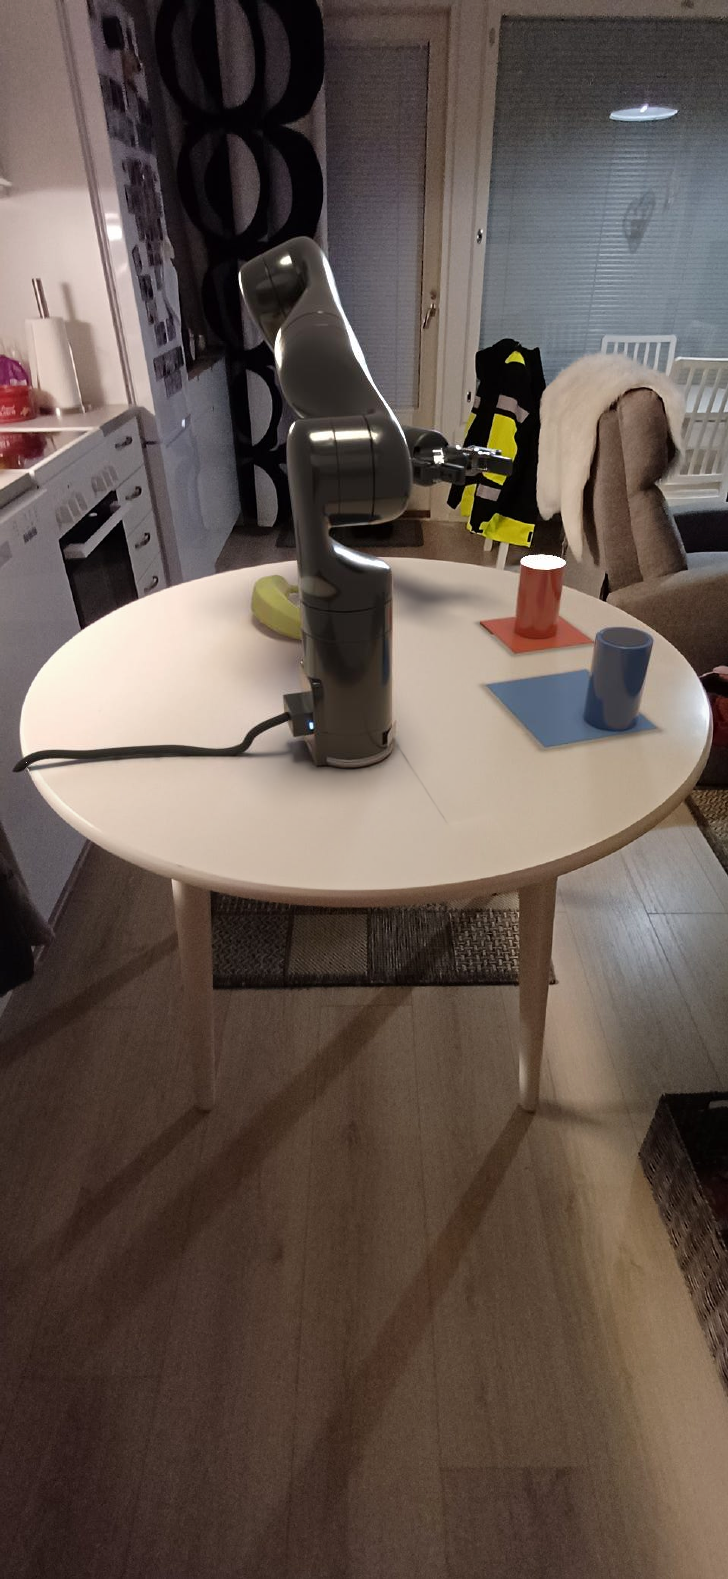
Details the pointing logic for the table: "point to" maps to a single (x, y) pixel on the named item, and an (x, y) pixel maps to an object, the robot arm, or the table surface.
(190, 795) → the table surface
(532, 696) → the blue mat
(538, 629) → the red cup
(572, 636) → the red mat
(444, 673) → the table surface
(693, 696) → the table surface
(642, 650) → the blue cup
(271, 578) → the banana
